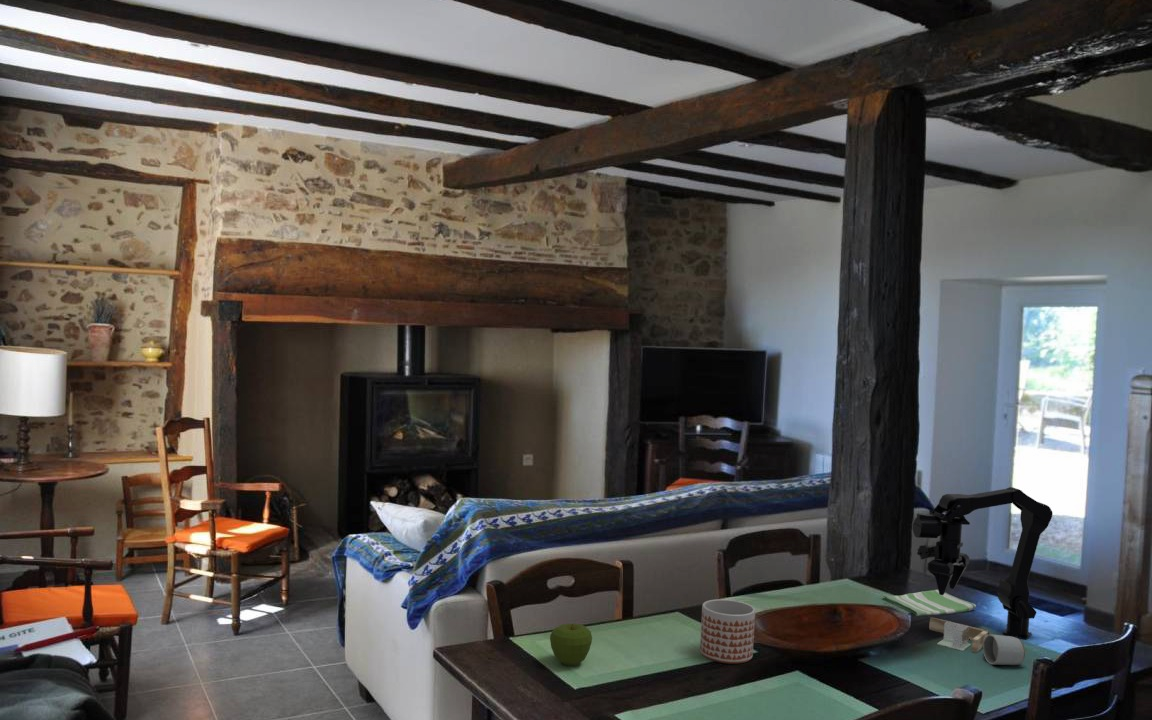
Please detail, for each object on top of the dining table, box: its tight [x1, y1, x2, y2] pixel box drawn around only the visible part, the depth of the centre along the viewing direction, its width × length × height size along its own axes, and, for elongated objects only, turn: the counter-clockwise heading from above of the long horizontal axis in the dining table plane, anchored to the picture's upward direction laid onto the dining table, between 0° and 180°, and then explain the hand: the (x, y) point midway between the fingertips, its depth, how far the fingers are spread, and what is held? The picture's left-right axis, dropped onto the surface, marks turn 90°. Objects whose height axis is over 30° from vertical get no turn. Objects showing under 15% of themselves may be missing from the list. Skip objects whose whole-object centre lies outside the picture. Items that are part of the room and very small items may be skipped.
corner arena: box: [928, 616, 990, 654], centre depth 259 cm, size 11×16×4 cm
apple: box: [549, 623, 593, 667], centre depth 227 cm, size 11×10×10 cm
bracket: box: [942, 620, 970, 649], centre depth 255 cm, size 6×6×5 cm
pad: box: [936, 639, 972, 652], centre depth 255 cm, size 7×7×1 cm
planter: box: [699, 598, 756, 665], centre depth 238 cm, size 14×14×13 cm
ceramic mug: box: [982, 633, 1026, 666], centre depth 243 cm, size 11×8×8 cm
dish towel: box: [882, 589, 977, 617], centre depth 292 cm, size 18×23×3 cm
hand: (946, 591), depth 265 cm, fingers open, 9 cm apart
